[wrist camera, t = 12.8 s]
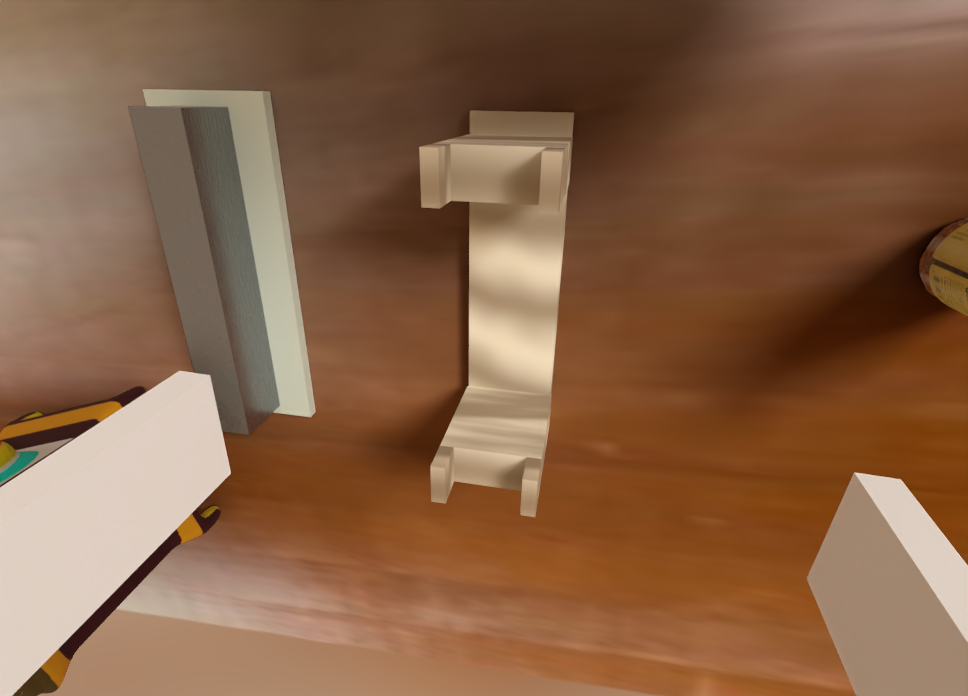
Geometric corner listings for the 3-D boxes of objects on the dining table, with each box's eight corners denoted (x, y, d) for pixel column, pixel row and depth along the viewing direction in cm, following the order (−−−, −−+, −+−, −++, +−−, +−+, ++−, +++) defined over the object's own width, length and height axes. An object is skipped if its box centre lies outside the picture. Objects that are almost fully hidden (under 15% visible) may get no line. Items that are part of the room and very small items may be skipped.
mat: (152, 89, 41) (142, 89, 40) (269, 91, 39) (262, 91, 38) (223, 399, 53) (216, 405, 52) (315, 411, 51) (310, 417, 50)
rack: (472, 110, 37) (418, 114, 26) (575, 112, 36) (565, 117, 25) (470, 422, 48) (432, 517, 37) (549, 432, 47) (533, 534, 36)
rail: (180, 105, 40) (128, 106, 35) (227, 106, 39) (180, 107, 35) (242, 400, 51) (208, 429, 47) (279, 405, 50) (249, 435, 46)
